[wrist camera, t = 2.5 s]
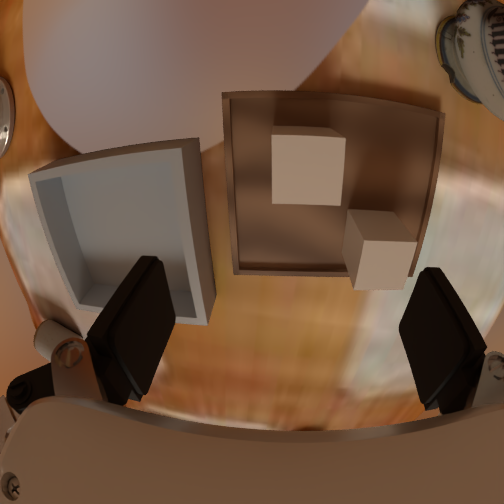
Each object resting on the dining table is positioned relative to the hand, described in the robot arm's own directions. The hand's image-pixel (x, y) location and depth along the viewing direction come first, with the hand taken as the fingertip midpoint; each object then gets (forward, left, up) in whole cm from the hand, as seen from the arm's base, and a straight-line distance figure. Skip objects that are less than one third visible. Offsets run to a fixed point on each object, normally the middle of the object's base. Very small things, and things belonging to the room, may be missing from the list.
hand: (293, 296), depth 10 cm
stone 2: (+6, +8, -17) cm, 20 cm away
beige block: (-2, +1, -17) cm, 17 cm away
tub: (+6, -17, -17) cm, 25 cm away
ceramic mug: (+28, -39, -18) cm, 51 cm away
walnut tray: (+2, +5, -17) cm, 18 cm away
